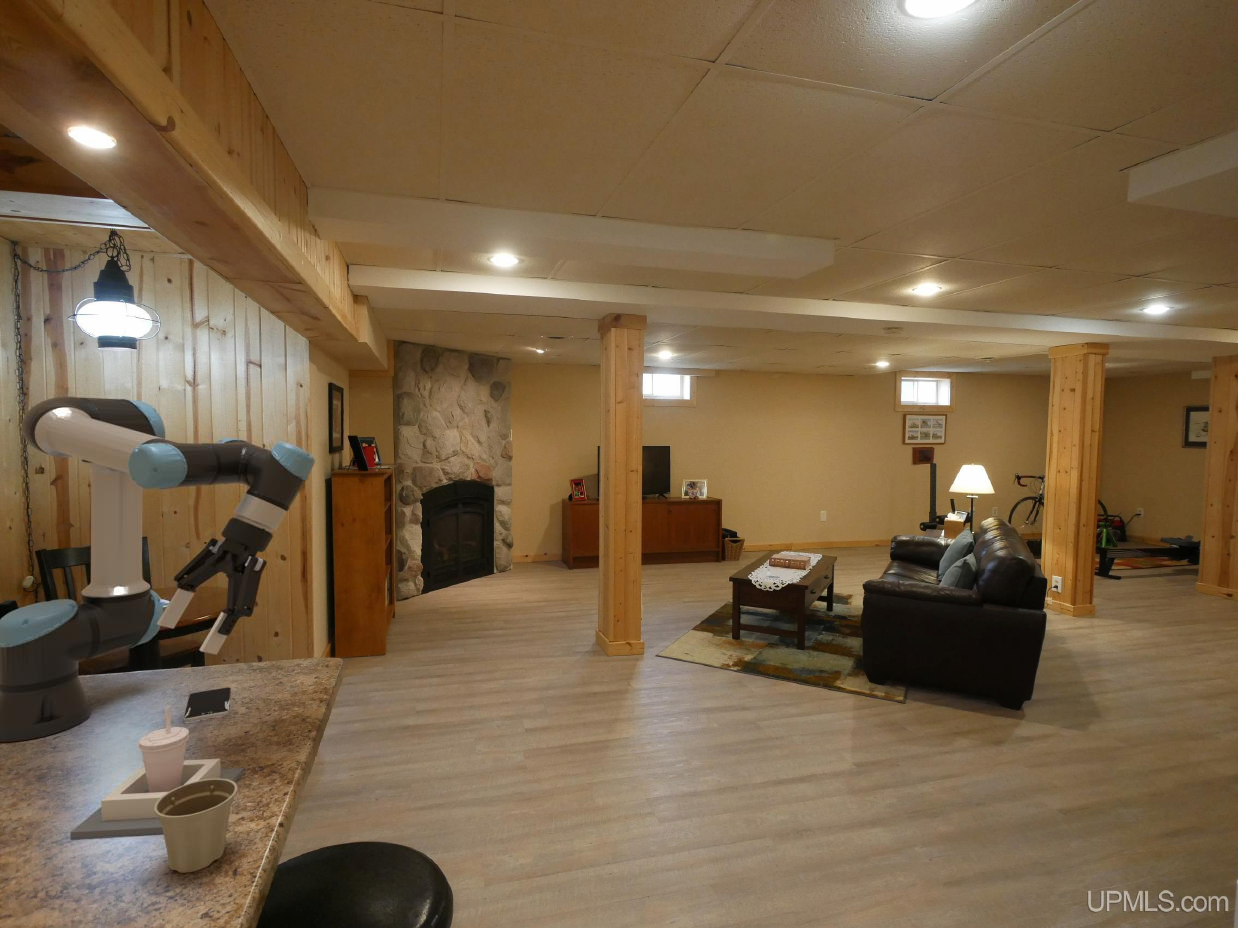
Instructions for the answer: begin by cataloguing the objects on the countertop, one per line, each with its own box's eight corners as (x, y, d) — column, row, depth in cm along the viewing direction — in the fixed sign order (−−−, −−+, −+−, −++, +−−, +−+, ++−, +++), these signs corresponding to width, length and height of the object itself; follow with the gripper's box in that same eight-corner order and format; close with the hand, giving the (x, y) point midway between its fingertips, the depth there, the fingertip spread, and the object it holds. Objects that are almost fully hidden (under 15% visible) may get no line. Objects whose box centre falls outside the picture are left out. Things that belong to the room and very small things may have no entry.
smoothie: (197, 793, 100) (196, 705, 99) (150, 813, 94) (149, 721, 94) (178, 781, 103) (177, 696, 102) (132, 799, 98) (130, 710, 97)
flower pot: (223, 827, 93) (222, 770, 92) (249, 855, 87) (248, 793, 86) (145, 860, 85) (144, 798, 85) (168, 893, 79) (166, 826, 79)
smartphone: (230, 686, 142) (228, 711, 129) (230, 692, 142) (228, 718, 129) (189, 693, 138) (183, 719, 126) (189, 699, 139) (183, 726, 126)
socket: (142, 778, 106) (141, 754, 105) (243, 773, 107) (243, 750, 107) (70, 839, 90) (69, 811, 90) (191, 832, 92) (190, 805, 91)
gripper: (313, 548, 110) (247, 668, 104) (232, 515, 122) (168, 620, 116) (279, 534, 104) (206, 659, 98) (197, 500, 116) (127, 611, 109)
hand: (185, 639), depth 107 cm, fingers open, 13 cm apart
